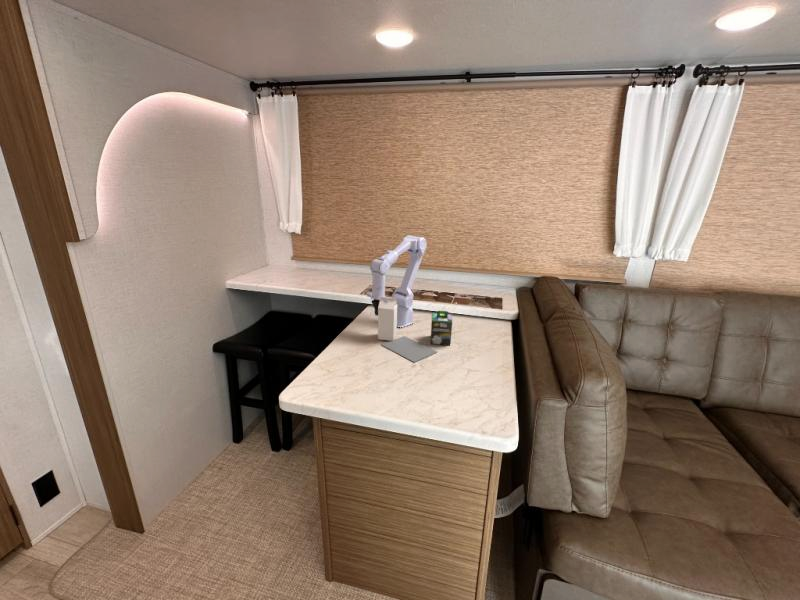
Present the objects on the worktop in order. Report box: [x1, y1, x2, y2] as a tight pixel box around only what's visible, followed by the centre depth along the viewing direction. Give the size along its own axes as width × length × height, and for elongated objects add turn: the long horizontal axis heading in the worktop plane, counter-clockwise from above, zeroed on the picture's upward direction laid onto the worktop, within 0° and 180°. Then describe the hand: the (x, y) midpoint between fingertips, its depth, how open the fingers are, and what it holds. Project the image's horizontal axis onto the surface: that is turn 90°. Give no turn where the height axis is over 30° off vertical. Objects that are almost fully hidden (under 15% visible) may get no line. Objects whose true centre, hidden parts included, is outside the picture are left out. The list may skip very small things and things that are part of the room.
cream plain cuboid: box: [377, 296, 398, 342], centre depth 157 cm, size 7×7×19 cm
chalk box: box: [429, 310, 453, 346], centre depth 157 cm, size 9×9×15 cm
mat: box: [381, 335, 438, 364], centre depth 150 cm, size 14×20×1 cm
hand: (377, 314), depth 161 cm, fingers closed
